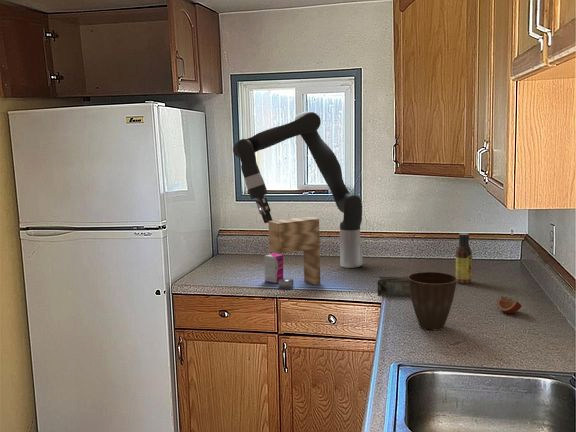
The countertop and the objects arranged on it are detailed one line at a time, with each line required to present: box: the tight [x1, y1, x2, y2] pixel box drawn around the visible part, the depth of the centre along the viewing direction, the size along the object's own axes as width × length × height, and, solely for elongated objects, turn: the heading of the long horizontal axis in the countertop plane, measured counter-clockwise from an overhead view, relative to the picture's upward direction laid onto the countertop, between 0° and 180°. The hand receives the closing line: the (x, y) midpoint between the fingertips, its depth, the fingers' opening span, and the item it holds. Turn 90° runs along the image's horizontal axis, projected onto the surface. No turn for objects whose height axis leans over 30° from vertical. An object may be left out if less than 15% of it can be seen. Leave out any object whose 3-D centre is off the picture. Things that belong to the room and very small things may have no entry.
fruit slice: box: [496, 295, 522, 314], centre depth 199 cm, size 8×7×5 cm
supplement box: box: [264, 252, 284, 285], centre depth 247 cm, size 6×6×12 cm
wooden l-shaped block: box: [267, 216, 321, 285], centre depth 239 cm, size 19×8×27 cm, turn 120°
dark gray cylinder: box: [278, 277, 294, 290], centre depth 239 cm, size 6×6×3 cm
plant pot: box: [407, 271, 457, 331], centre depth 187 cm, size 15×15×16 cm
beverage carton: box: [376, 276, 411, 297], centre depth 225 cm, size 8×19×7 cm, turn 80°
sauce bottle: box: [455, 232, 473, 285], centre depth 237 cm, size 7×6×20 cm
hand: (268, 222), depth 247 cm, fingers open, 8 cm apart
